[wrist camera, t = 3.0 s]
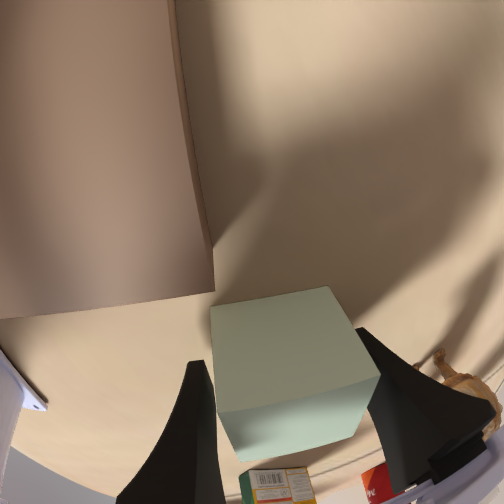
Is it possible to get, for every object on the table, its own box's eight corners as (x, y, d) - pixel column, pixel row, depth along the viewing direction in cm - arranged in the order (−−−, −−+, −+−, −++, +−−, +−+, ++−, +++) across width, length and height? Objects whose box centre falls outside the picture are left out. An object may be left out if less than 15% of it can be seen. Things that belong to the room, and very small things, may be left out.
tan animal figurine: (396, 345, 15) (466, 461, 7) (457, 313, 15) (530, 405, 7) (375, 430, 22) (405, 498, 14) (419, 408, 22) (453, 471, 15)
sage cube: (228, 376, 14) (240, 462, 9) (209, 305, 11) (217, 412, 7) (320, 358, 14) (352, 436, 10) (327, 284, 12) (380, 374, 7)
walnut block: (-8, 285, 10) (-36, 321, 7) (-56, 68, 4) (-95, 73, 1) (212, 243, 10) (215, 291, 8) (171, -55, 5) (162, -98, 2)
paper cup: (349, 477, 34) (371, 539, 22) (389, 458, 33) (416, 520, 20) (363, 478, 38) (383, 531, 25) (398, 460, 36) (421, 514, 24)
